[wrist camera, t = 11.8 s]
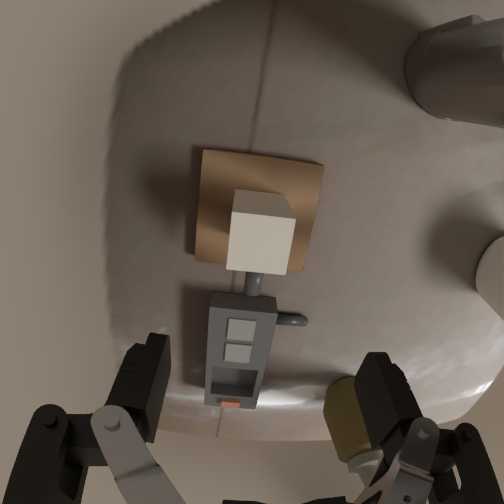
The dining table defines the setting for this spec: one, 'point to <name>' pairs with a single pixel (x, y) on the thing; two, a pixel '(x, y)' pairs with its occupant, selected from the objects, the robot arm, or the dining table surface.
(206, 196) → the walnut board
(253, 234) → the block
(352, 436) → the squeeze bottle
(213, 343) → the power strip
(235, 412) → the dining table surface
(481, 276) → the cup
